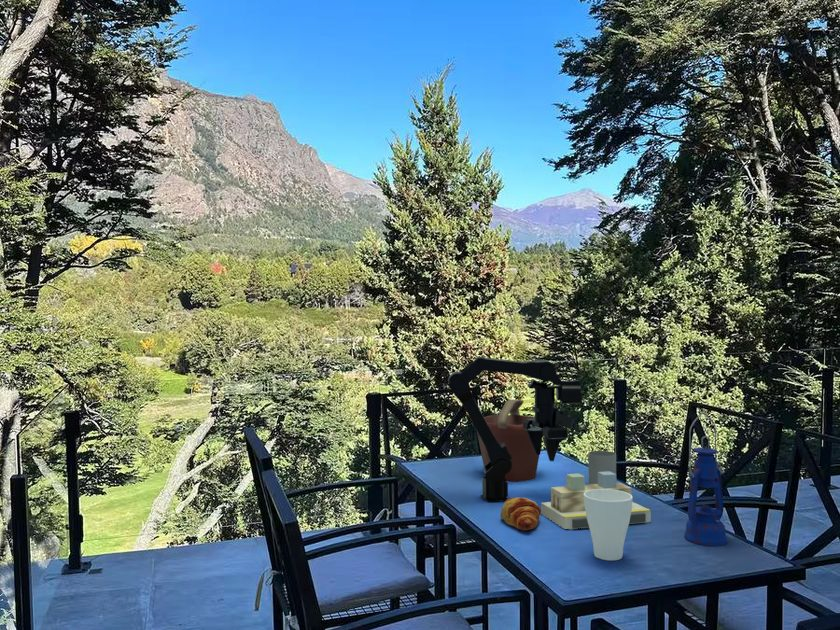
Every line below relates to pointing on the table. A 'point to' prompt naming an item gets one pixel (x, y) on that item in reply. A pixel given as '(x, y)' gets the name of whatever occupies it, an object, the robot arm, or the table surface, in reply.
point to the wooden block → (576, 497)
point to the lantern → (705, 519)
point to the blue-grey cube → (607, 479)
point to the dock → (580, 519)
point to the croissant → (521, 513)
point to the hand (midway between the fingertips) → (544, 457)
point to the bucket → (513, 441)
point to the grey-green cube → (575, 482)
